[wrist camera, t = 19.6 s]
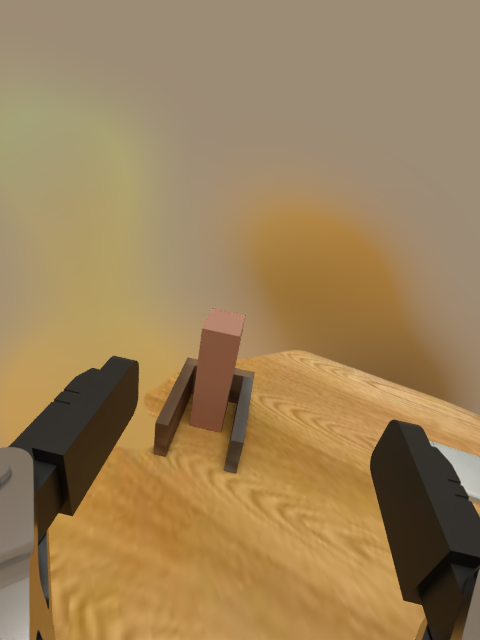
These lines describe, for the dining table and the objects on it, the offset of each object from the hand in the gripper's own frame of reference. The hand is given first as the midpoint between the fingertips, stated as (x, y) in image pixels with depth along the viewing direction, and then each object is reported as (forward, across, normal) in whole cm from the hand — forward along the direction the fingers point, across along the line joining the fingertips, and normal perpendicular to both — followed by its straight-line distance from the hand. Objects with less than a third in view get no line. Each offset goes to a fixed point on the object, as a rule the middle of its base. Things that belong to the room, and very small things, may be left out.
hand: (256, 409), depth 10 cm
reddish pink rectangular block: (+26, +4, +28) cm, 39 cm away
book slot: (+24, +4, +28) cm, 37 cm away
